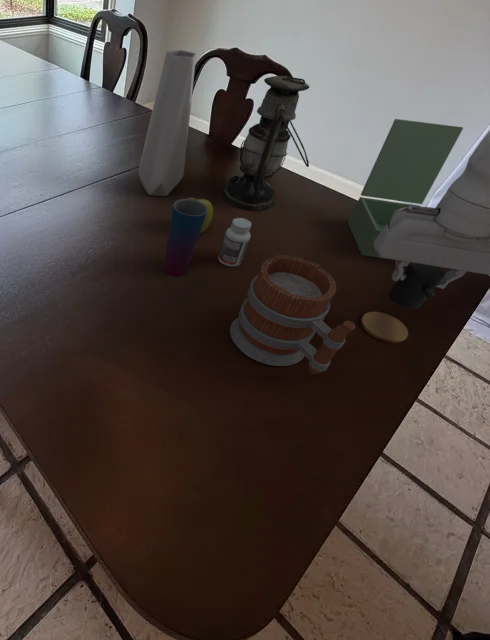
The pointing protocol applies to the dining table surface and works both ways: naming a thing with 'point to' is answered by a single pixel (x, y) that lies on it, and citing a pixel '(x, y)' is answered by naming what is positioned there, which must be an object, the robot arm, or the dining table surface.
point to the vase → (168, 125)
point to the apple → (208, 215)
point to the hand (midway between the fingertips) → (416, 283)
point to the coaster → (384, 327)
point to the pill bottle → (235, 242)
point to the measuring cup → (416, 285)
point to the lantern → (266, 146)
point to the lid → (410, 160)
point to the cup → (183, 234)
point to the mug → (289, 315)
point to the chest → (371, 222)
